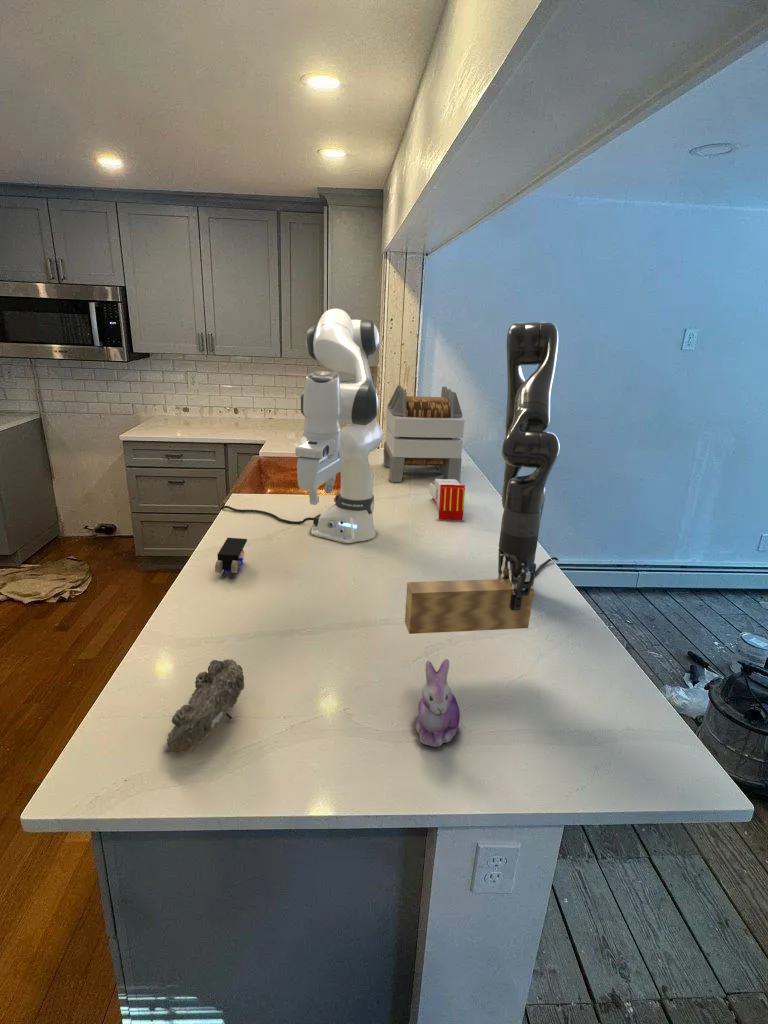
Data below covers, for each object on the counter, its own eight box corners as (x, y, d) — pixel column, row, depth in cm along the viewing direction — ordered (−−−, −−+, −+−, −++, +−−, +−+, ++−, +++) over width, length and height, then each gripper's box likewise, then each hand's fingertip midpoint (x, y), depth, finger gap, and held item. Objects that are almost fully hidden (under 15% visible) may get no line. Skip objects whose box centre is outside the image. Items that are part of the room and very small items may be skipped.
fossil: (192, 660, 117) (244, 628, 112) (224, 691, 120) (276, 661, 115) (142, 746, 98) (202, 712, 93) (182, 779, 101) (242, 748, 96)
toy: (456, 474, 239) (469, 486, 210) (455, 506, 242) (467, 521, 213) (428, 474, 239) (436, 485, 210) (426, 505, 242) (435, 520, 212)
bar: (409, 634, 116) (412, 593, 113) (404, 621, 121) (407, 582, 117) (528, 628, 120) (534, 588, 117) (519, 616, 125) (525, 578, 122)
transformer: (382, 463, 289) (386, 382, 275) (445, 464, 293) (451, 384, 279) (390, 482, 257) (394, 392, 243) (460, 483, 261) (468, 394, 247)
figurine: (430, 757, 101) (436, 686, 95) (402, 721, 109) (406, 654, 104) (473, 741, 105) (481, 672, 100) (443, 707, 113) (449, 643, 108)
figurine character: (238, 584, 162) (249, 557, 175) (236, 562, 158) (247, 536, 172) (215, 584, 161) (227, 556, 175) (212, 561, 158) (225, 535, 171)
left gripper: (325, 433, 144) (325, 485, 149) (291, 450, 125) (292, 509, 130) (349, 435, 143) (348, 487, 147) (318, 453, 124) (318, 512, 129)
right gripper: (552, 542, 108) (540, 619, 114) (523, 516, 122) (514, 586, 128) (515, 543, 107) (505, 621, 113) (490, 516, 121) (482, 588, 126)
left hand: (321, 498), depth 139 cm, fingers open, 8 cm apart
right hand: (510, 602), depth 120 cm, fingers closed on bar, 5 cm apart
